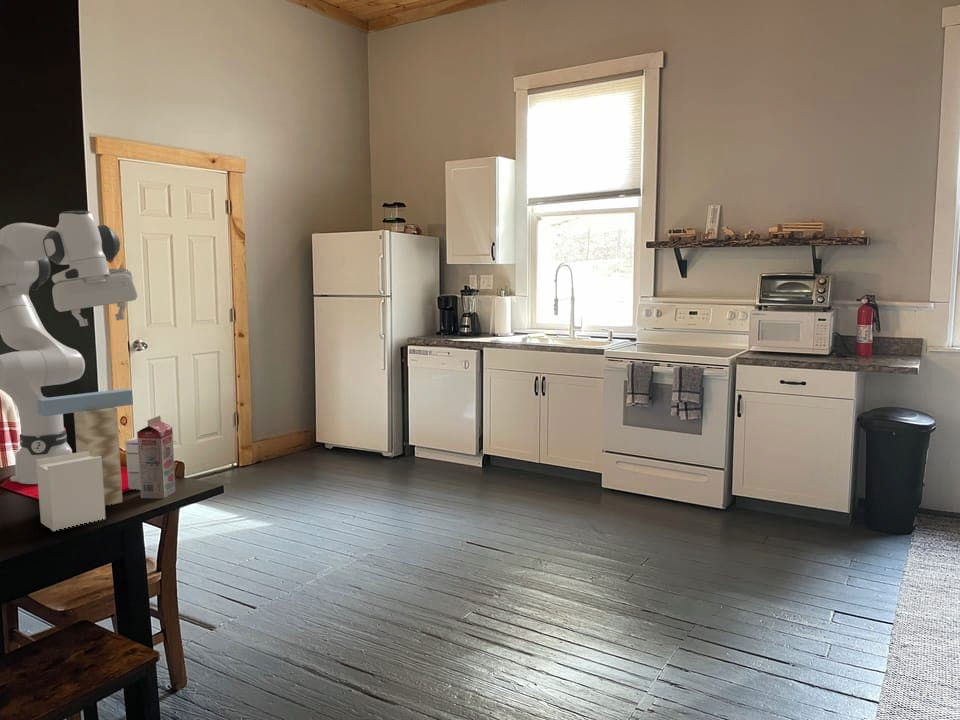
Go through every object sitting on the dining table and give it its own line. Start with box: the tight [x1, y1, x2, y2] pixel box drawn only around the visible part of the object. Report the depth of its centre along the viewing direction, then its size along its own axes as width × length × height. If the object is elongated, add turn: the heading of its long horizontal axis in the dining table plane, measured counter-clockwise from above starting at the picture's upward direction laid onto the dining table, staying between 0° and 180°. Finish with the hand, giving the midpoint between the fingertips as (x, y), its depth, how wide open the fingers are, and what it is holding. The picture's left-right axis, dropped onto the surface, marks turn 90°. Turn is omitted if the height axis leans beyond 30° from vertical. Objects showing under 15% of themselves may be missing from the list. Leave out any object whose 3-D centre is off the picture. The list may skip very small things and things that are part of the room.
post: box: [73, 407, 123, 507], centre depth 197 cm, size 8×8×26 cm
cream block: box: [36, 451, 106, 532], centre depth 183 cm, size 12×9×16 cm
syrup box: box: [124, 436, 140, 491], centre depth 211 cm, size 6×6×14 cm
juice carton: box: [136, 415, 176, 499], centre depth 204 cm, size 7×7×22 cm
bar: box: [37, 388, 134, 416], centre depth 193 cm, size 22×4×4 cm, turn 138°
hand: (102, 322), depth 194 cm, fingers open, 8 cm apart
